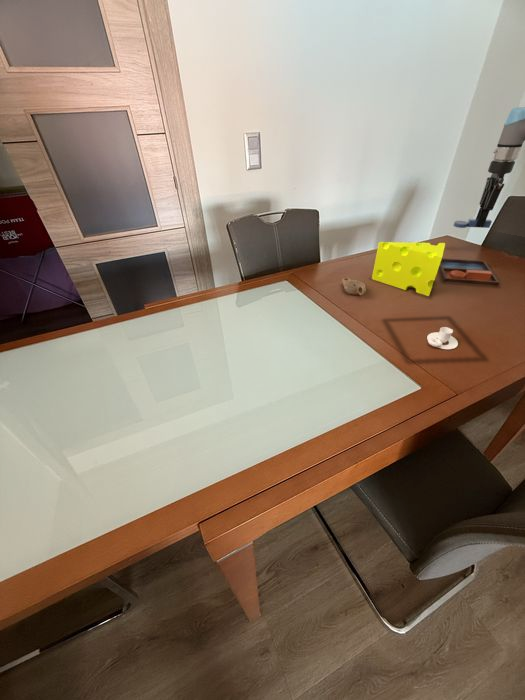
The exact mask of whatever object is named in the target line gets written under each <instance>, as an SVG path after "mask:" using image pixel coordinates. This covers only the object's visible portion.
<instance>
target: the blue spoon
mask: <svg viewBox="0 0 525 700" xmlns="http://www.w3.org/2000/svg"><path fill="white" fill-rule="evenodd" d="M477 221H478V219H476V218H469V219H468V221H466V220H455V221H454V222H453V224H452V225H453V227H455V228H459V229H466V228H476V227H475V226H476V223H477ZM492 223H493V222H492V220H491V219H486V221H485V224H484V226H483V227H480V228H483V229H484V228H486V229H489V228H491V225H492Z"/></svg>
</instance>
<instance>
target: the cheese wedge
mask: <svg viewBox="0 0 525 700" xmlns="http://www.w3.org/2000/svg"><path fill="white" fill-rule="evenodd" d="M445 247H446V242H438V244H437V245H434V244H431V243H430V242H409V241H408V242H407V241H405V242H403V241H402V242H401V241H399V242H398V241H378V245H377V250H376V255H375V259H374V265H373V270H372V275H371V280H373V281H376V282H379V283H383V284H385V285H389V286H392V287H395V288H398V289H401V290H404V291H407V290H409V288H413V289H415V293H417V294H420V295H424V296H427V297H430V294H431V291H432V288H433V284H434V282H435V280H436V277H437V274H438V271H439V265H440V263H441V260H442V258H443V256H444V250H445Z"/></svg>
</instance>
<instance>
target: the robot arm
mask: <svg viewBox="0 0 525 700" xmlns="http://www.w3.org/2000/svg"><path fill="white" fill-rule="evenodd" d="M524 142H525V106H519V107H514V108H512V109H511V110H510V111H509V113H508V116H507V118H506V120H505V123H504V124H503V128H502V131H501V134H500V137H499V139H498V142H497V145H496V148H495V149H494V150H493V152H492V153H493V156H492V159H493V160H491V161H490V163H489V166H488V169H487V172H488V173H489V174H491V175H490V176H489V177H487V178H486V181H485V186H484V189H483V192H482V194H481V198H480V200H479V209H478V211H477V215H476V217H475V219H478V221H477V223H476V226H475V227H474V228H481V227H483V226H484V224H485V221H486V220H488V219H487V218H488V216H489V213H490V212H491V211H493V210H494V207H495V206H496V203H497V201H498V199H499V197H500V195H501V192H502V190H503V188H504V187H505V183H504V180H505V179H504V178H505V175H506V174H510V173H512V171H513V169H514V166H515V164H516V160H517V159H518V157H519V155H520V153H521V150H522V147H523V145H524Z"/></svg>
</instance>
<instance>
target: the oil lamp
mask: <svg viewBox="0 0 525 700" xmlns="http://www.w3.org/2000/svg"><path fill="white" fill-rule="evenodd" d="M341 283H342V286H343V290H344V292H346V294H348V295H352V296H356V295H360V296H363V295H366V293H367V289H366V284H365V283H364V282H363V281H360V280H357V279H351V277H344V278H342V279H341Z"/></svg>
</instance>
